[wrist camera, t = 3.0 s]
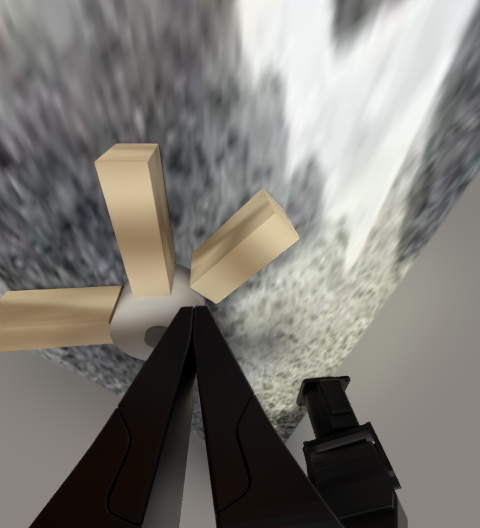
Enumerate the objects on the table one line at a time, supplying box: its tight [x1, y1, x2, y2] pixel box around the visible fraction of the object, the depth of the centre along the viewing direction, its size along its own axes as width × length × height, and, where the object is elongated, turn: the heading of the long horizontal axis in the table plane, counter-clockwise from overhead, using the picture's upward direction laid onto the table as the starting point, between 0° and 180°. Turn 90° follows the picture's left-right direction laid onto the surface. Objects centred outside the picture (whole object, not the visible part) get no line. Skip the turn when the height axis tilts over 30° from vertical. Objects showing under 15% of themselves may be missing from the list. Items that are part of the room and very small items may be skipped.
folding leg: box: [190, 188, 300, 304], centre depth 19 cm, size 8×2×4 cm, turn 133°
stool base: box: [0, 144, 205, 361], centre depth 21 cm, size 25×16×5 cm, turn 178°
